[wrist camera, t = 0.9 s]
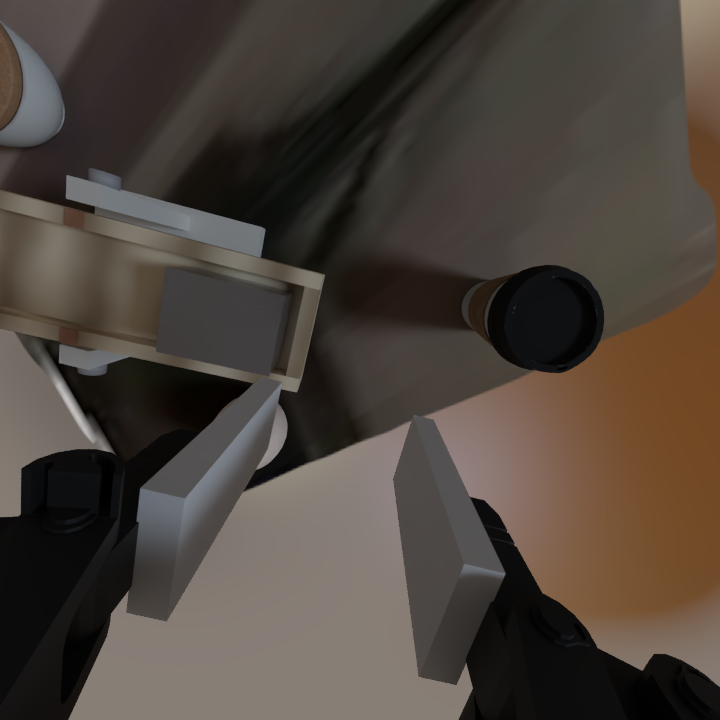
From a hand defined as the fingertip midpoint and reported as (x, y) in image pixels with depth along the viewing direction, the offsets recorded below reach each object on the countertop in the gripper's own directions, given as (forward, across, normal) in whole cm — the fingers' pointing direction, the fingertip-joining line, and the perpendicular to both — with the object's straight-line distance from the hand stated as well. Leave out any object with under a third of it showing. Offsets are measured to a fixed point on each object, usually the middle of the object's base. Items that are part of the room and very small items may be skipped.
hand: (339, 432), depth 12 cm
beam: (+17, -22, 0) cm, 28 cm away
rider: (+17, -10, 0) cm, 20 cm away
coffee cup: (+29, +14, +6) cm, 33 cm away
